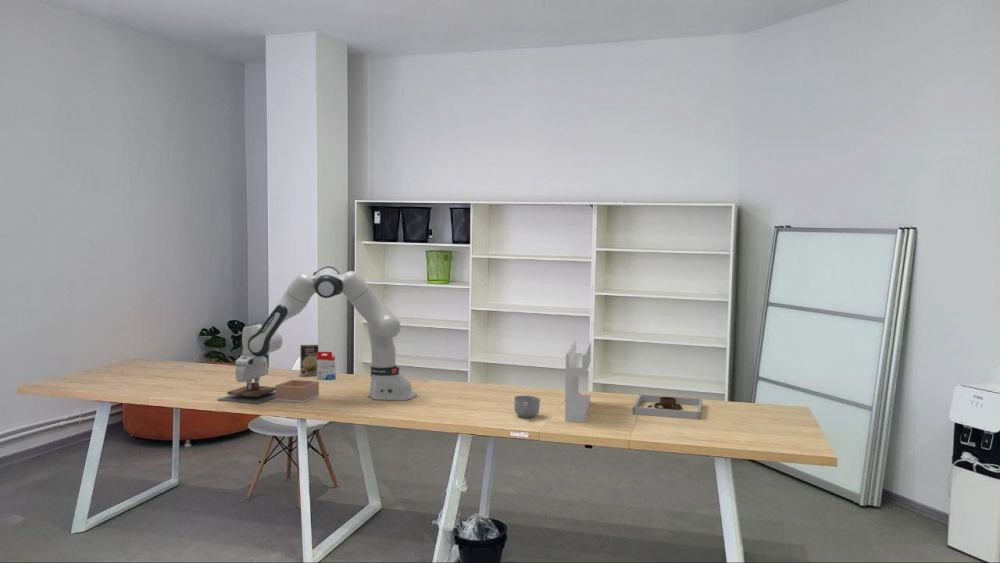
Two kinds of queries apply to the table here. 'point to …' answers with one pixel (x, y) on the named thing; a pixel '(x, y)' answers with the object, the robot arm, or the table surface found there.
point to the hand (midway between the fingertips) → (253, 387)
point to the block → (576, 384)
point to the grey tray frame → (667, 412)
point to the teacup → (526, 406)
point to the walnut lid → (252, 390)
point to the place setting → (667, 404)
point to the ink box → (325, 366)
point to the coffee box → (308, 360)
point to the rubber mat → (249, 398)
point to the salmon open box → (297, 391)
